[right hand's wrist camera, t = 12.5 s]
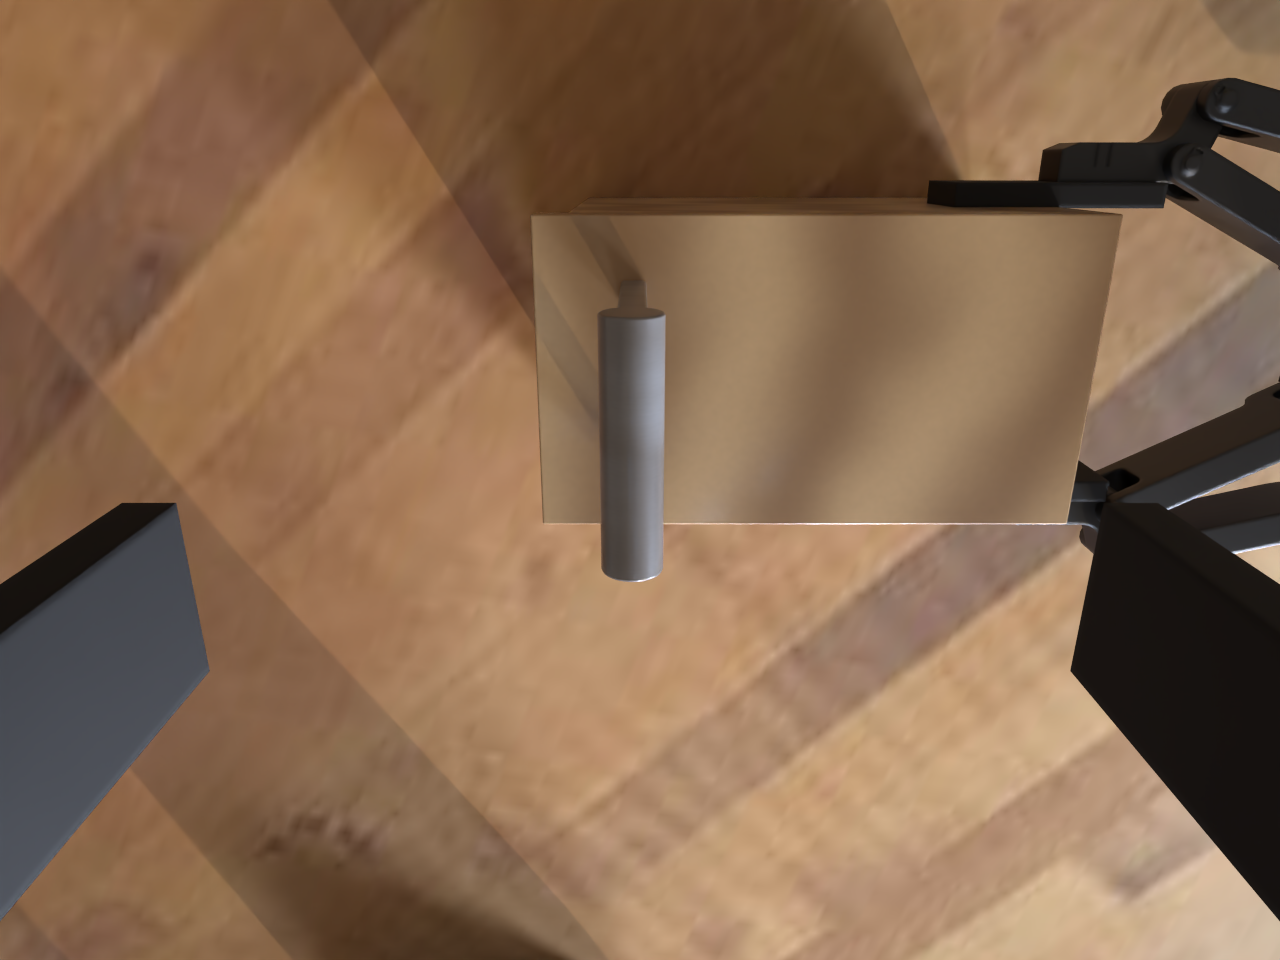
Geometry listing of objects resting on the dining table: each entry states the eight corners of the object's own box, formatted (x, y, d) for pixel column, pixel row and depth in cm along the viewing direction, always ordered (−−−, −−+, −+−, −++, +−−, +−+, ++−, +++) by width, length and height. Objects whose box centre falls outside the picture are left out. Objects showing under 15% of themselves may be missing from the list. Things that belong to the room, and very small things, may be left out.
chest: (592, 420, 37) (575, 513, 27) (587, 197, 34) (566, 212, 24) (944, 420, 37) (1053, 513, 27) (972, 197, 34) (1106, 212, 24)
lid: (545, 513, 27) (510, 645, 20) (533, 212, 24) (486, 235, 17) (1054, 513, 27) (1208, 645, 20) (1107, 212, 24) (1313, 235, 17)
